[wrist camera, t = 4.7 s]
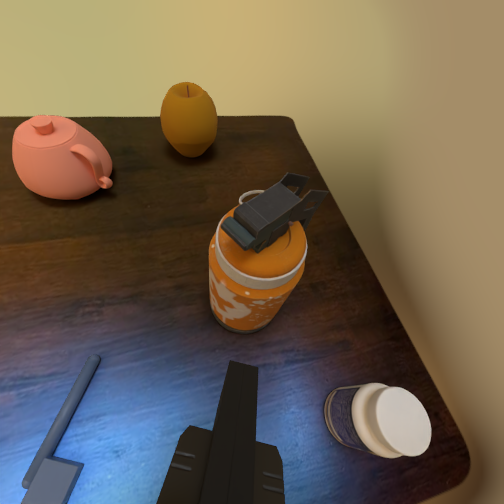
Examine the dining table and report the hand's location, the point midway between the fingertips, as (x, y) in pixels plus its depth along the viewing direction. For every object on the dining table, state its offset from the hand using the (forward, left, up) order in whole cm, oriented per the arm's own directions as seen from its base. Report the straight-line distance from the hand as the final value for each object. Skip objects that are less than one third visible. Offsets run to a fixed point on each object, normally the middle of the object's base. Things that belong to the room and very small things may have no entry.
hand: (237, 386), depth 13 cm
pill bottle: (-14, -1, -18) cm, 23 cm away
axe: (+13, +6, -18) cm, 23 cm away
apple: (+17, -38, -18) cm, 45 cm away
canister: (0, -12, -18) cm, 22 cm away
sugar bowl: (+31, -24, -18) cm, 43 cm away
